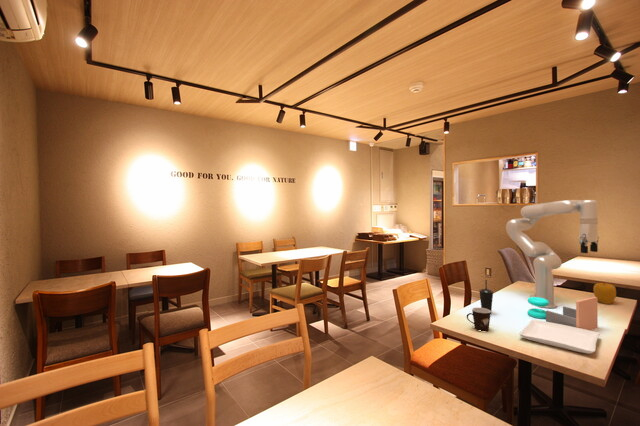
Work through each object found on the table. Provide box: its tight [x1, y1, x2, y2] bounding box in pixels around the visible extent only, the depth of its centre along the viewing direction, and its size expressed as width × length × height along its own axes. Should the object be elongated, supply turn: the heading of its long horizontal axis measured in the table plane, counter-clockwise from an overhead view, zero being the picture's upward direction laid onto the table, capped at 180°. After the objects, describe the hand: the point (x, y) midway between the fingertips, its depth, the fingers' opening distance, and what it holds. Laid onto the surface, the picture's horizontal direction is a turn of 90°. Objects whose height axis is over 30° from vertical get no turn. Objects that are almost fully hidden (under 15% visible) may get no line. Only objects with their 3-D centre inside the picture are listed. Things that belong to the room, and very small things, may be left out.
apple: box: [592, 282, 617, 305], centre depth 198 cm, size 11×11×13 cm
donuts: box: [527, 296, 549, 320], centre depth 178 cm, size 10×10×10 cm
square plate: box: [519, 319, 601, 354], centre depth 147 cm, size 27×27×4 cm
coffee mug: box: [466, 307, 492, 332], centre depth 161 cm, size 12×9×10 cm
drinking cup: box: [478, 279, 494, 312], centre depth 183 cm, size 8×8×20 cm
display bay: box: [545, 296, 599, 331], centre depth 162 cm, size 15×16×16 cm
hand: (589, 252), depth 174 cm, fingers open, 9 cm apart
